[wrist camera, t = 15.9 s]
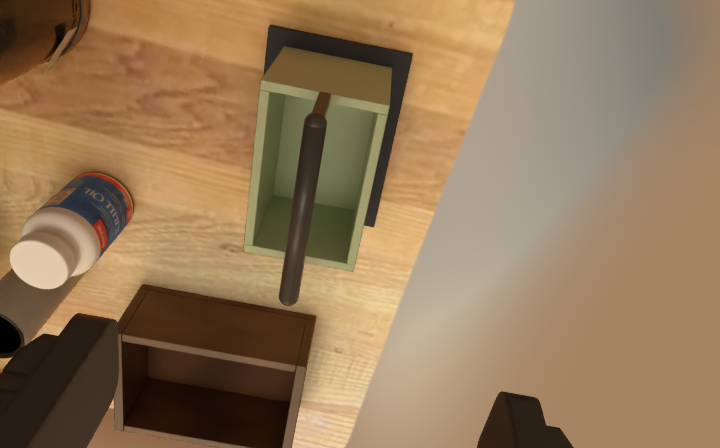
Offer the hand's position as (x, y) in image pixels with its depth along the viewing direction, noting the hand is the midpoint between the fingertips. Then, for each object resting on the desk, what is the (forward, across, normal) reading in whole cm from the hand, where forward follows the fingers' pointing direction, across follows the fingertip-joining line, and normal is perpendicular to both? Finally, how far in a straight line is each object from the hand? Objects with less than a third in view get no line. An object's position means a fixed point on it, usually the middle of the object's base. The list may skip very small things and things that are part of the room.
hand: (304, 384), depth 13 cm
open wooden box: (+33, +8, +31) cm, 46 cm away
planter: (+33, +23, +24) cm, 47 cm away
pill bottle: (+33, +19, +18) cm, 42 cm away
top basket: (+33, +2, +8) cm, 34 cm away
